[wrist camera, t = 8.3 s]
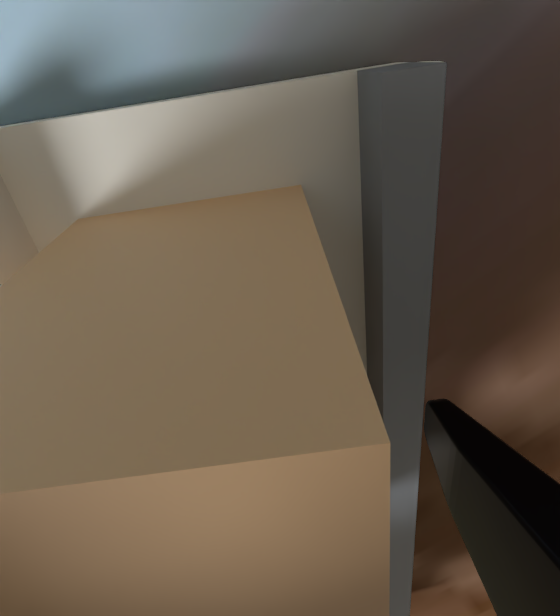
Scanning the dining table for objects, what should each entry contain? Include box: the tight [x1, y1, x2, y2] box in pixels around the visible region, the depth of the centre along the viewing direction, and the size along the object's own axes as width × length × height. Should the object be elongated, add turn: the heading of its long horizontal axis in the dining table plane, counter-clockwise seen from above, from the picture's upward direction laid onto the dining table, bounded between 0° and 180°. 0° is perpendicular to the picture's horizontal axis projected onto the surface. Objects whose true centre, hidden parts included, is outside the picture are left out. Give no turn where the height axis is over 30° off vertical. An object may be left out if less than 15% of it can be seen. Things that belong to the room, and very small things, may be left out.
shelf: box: [0, 61, 447, 616], centre depth 14 cm, size 24×20×3 cm
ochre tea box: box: [0, 185, 390, 616], centre depth 8 cm, size 9×5×7 cm, turn 8°
